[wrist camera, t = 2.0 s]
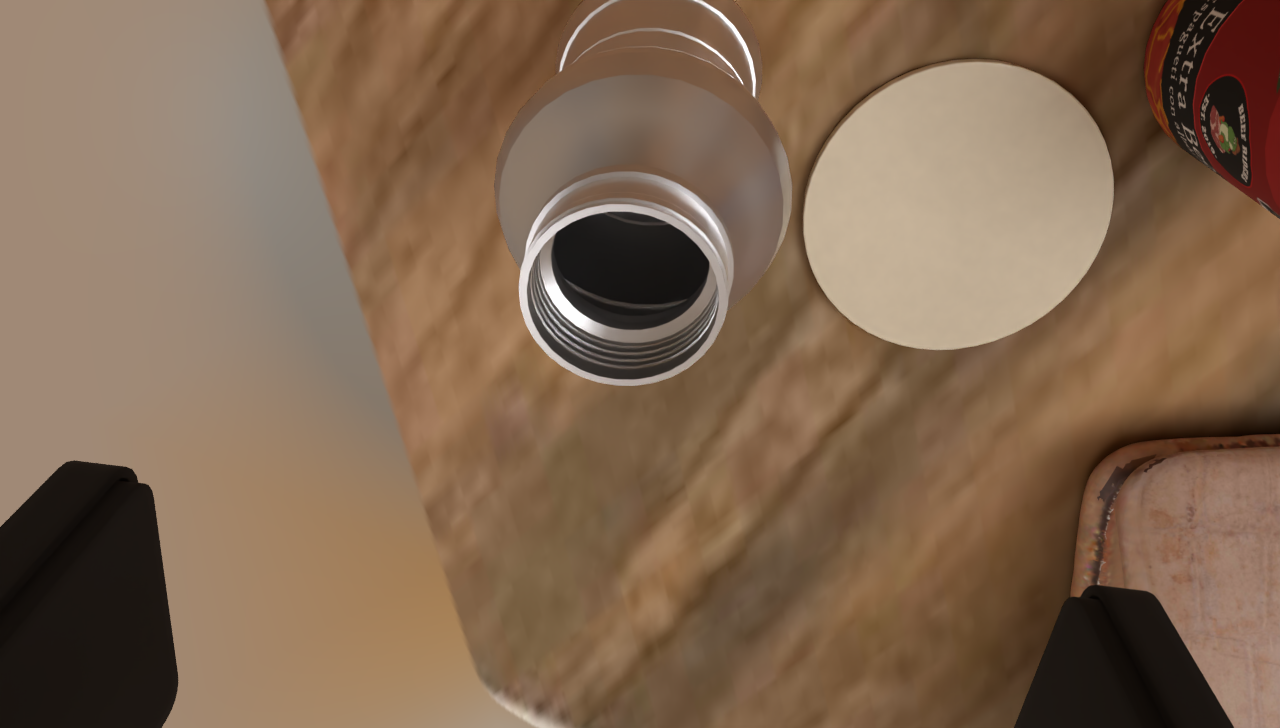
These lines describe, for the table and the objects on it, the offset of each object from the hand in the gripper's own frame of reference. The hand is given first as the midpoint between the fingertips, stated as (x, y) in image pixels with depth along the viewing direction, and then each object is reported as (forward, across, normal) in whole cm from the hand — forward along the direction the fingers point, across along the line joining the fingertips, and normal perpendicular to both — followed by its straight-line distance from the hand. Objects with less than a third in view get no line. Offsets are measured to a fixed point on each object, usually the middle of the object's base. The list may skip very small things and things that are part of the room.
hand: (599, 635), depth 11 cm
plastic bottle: (+28, 0, 0) cm, 29 cm away
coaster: (+28, -11, +4) cm, 31 cm away
